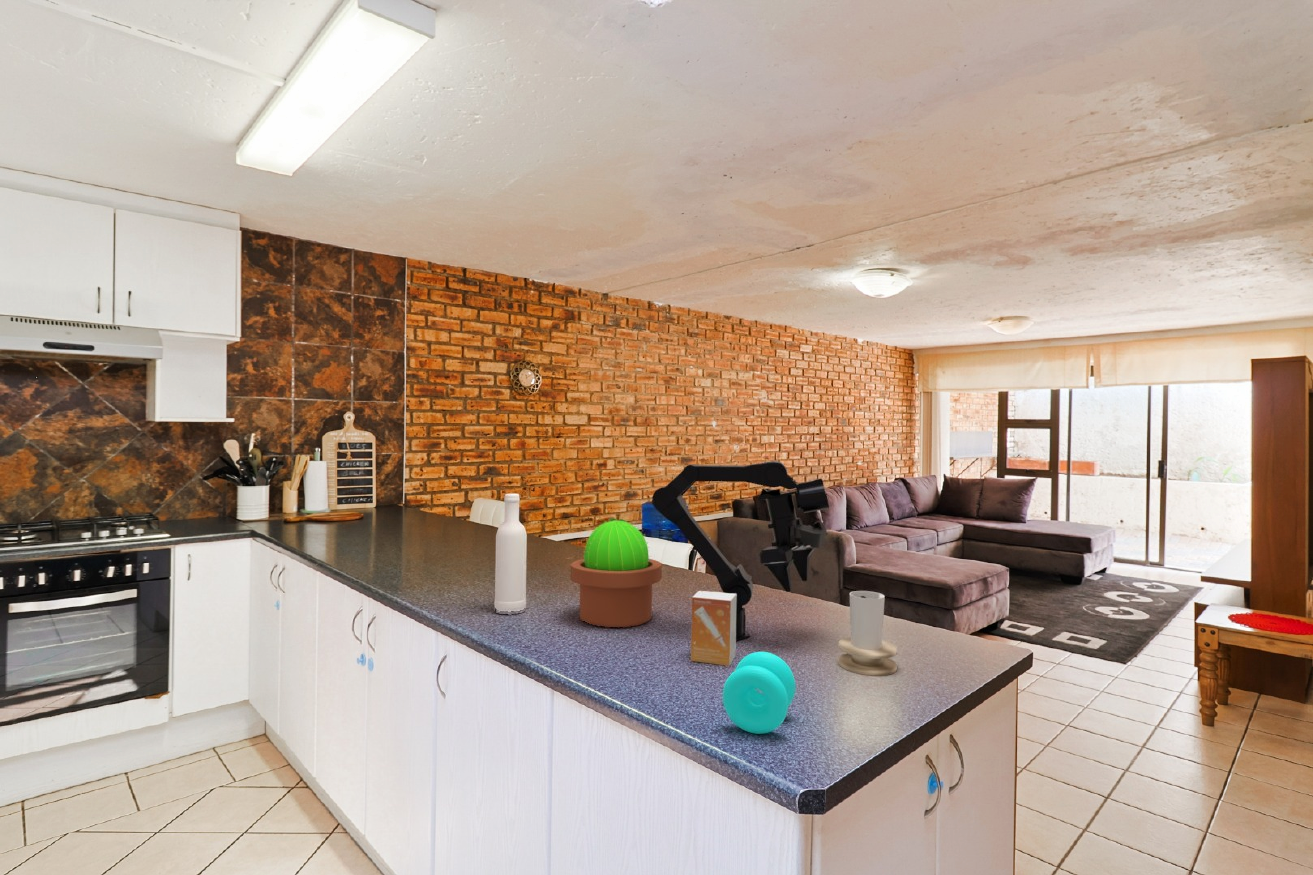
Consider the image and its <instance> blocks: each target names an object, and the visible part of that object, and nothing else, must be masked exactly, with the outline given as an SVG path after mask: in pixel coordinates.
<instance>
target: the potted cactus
mask: <svg viewBox="0 0 1313 875" xmlns="http://www.w3.org/2000/svg"><path fill="white" fill-rule="evenodd" d="M627 520H628V519H626V520H625V519H623V518H619V519H617V518H608V521H606V520H604V521H603V523H599V525H598V526H595V528H594V530H593V531H591V532H592V533H591V534H590V535H589V536H588V539H587V538H586V539H587V541H586V545H585V546H584V551H582V553H584V555H582V558H581V559H578V560H575V561H573V562H572V563H570V580H571V582H574V583H575V584H577V585H578V584H579V618H580V620H581V621H582V622H583V621H585V622H587V623H586V624H588V623H589V624H588V625H591V624H593V625H592V626H595V625H599V626H598V627H600V626H606V627H605V628H610V627H618V628H617V629H619V627H623V628H630V627H631V626H632V627H636V626H641V625H643V624H646V623H647V622H649V621H650V620H651V618H652V611H653V605H652V604H653V599H652V598H653V585H655V584H657V583H659V582H660V581H662V578H663V576H662V575H663V573H662V571H663V570H662V568H663V565H662V562H661V561H658V560H656V559H651V558H650V557H652V556H650V555H649V546H648V544H649V542H647V540H646V537H645V536H646V534H645V533H644V534H643V533H642V532H641V531H640V530H639V527H638V528H637V527H636V525H634V524H631V523H629V522H628V521H627ZM585 622H584V623H585Z"/></svg>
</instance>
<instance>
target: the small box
mask: <svg viewBox="0 0 1313 875" xmlns="http://www.w3.org/2000/svg"><path fill="white" fill-rule="evenodd" d="M736 600H737V594H733V593H723V591H707V590H698V591H697V592H696V593H695V594H694V595H693V596H692V597H691V629H690V633H691V634H690V661H691V662H697V663H699V662H700V663H705V664H712V665H721V666H726V667H730V666H731V664H732V662H733V661H734V659H735V657H736V650H737V648H736V646H737V641H736Z"/></svg>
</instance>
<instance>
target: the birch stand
mask: <svg viewBox="0 0 1313 875" xmlns="http://www.w3.org/2000/svg"><path fill="white" fill-rule="evenodd" d="M838 649H839V650H840V651H841V652H844V653H843V654H841V655H839V656H838V665H839V666H840V667H841V668H842V669H844V670H847V671H849V672H851V673H855V674H857V675H858V674H859V675H865V676H876V677H877V676H879V677H880V676H881V677H882V676H888V675H889V676H890V675H893V674H894V673H897V671H898V663H897V662H896V661H894V660H893V659H892V658H894V657H896V656H897V655H898V647H897V646H896V644H893V643H892V642H890V641H887V640H883V639H882V647H881V648H880V649H877V650H866V649H860V648H856V647H854V646H852V644H851V636H849V637H845V638H842V639H840V640H839V641H838Z"/></svg>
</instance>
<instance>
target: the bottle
mask: <svg viewBox="0 0 1313 875" xmlns="http://www.w3.org/2000/svg"><path fill="white" fill-rule="evenodd" d="M503 500H504V521H503V522H502V523H501V524H500V525H499V526H498V528H497V532H496V534H495V565H494V566H495V568H494V569H495V570H494V571H495V572H494V574H495V577H494V578H495V579H494V584H495V585H494V609H495V608H496V609H497V610H499V611H508V612H511V611H520V610H523V609H524V608H527V596H526V595H527V546H528V544H527V540H528V539H527V538H528V536H527V534H528V533H527V531H526V527H525V525H523V524H522V523H521V522H520V501H521V499H520V494H519V493H505V494H504V498H503Z"/></svg>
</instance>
